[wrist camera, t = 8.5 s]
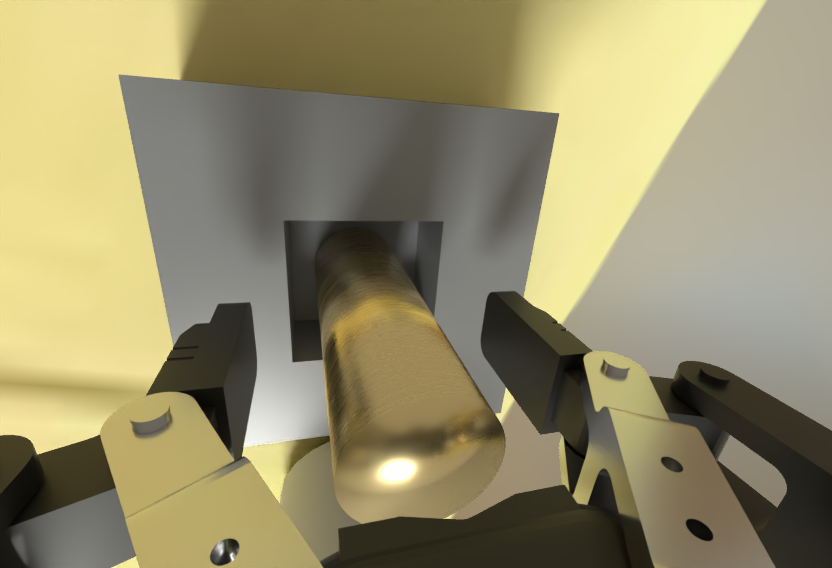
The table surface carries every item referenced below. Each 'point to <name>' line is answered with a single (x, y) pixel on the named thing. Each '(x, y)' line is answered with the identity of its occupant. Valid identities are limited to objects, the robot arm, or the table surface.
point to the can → (315, 502)
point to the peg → (396, 391)
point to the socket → (331, 215)
